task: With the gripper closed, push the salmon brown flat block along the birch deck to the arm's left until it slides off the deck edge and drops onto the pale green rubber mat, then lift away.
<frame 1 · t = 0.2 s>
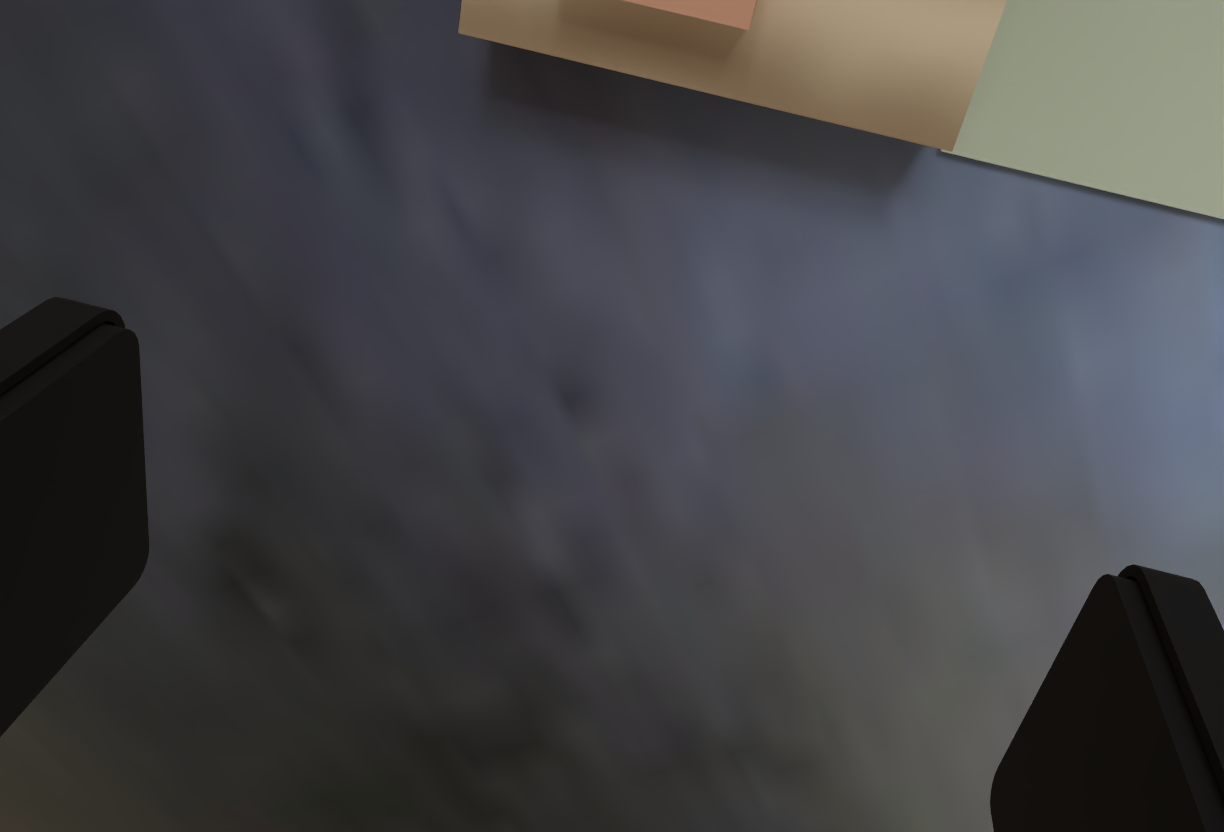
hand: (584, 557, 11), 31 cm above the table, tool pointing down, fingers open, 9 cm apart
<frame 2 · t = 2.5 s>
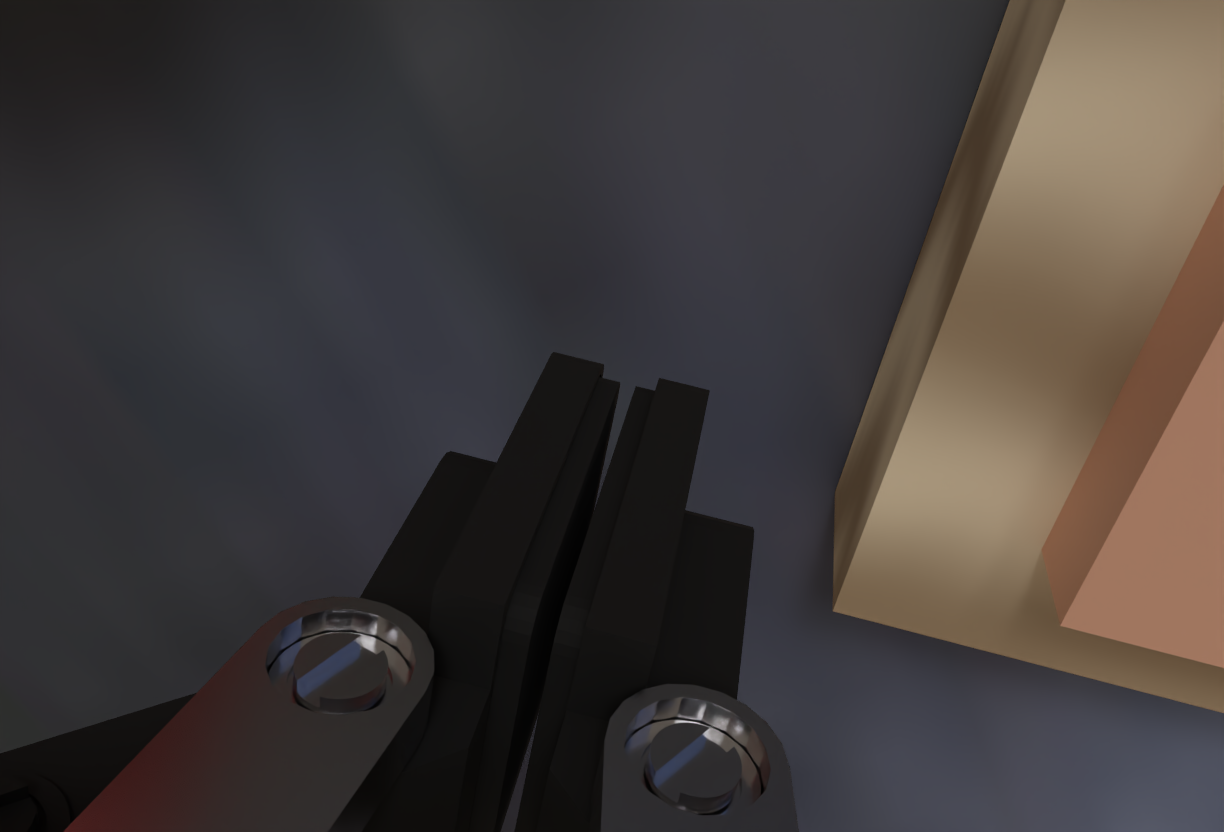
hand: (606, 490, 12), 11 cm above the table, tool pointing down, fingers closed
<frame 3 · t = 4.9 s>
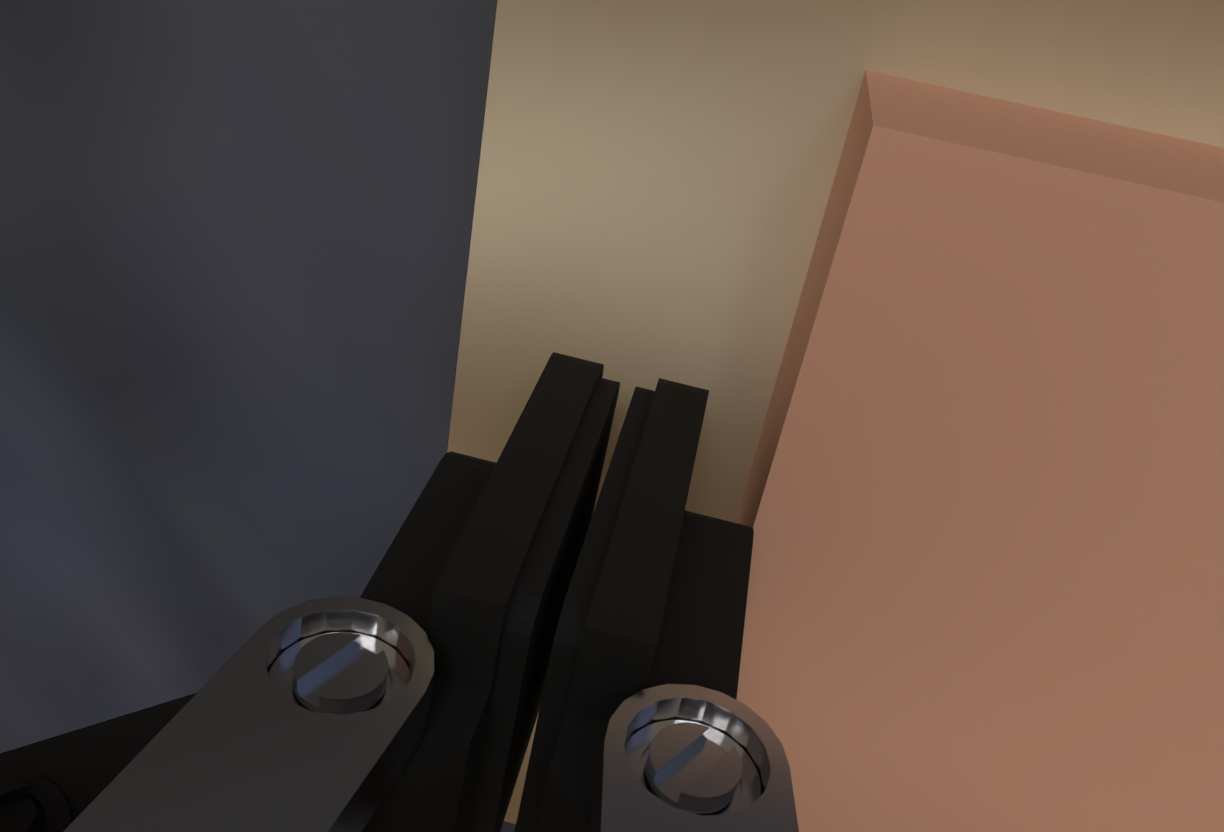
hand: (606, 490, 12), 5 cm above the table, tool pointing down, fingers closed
deck: (1076, 392, 16), on the table
salmon brown flat block: (1012, 529, 12), point 4 cm above the table, touching deck, gripper
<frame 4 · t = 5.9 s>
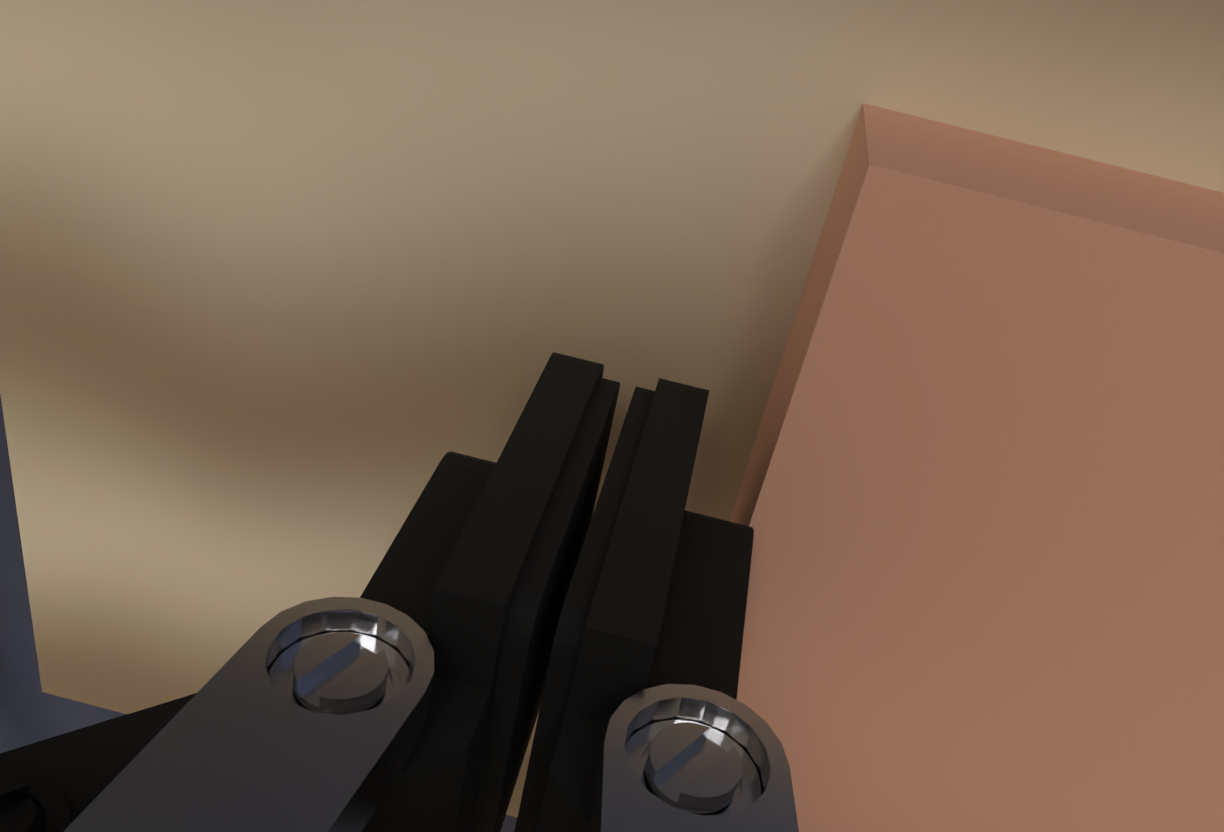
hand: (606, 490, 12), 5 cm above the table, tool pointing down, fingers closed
deck: (676, 294, 16), on the table
salmon brown flat block: (995, 552, 13), point 4 cm above the table, touching deck, gripper
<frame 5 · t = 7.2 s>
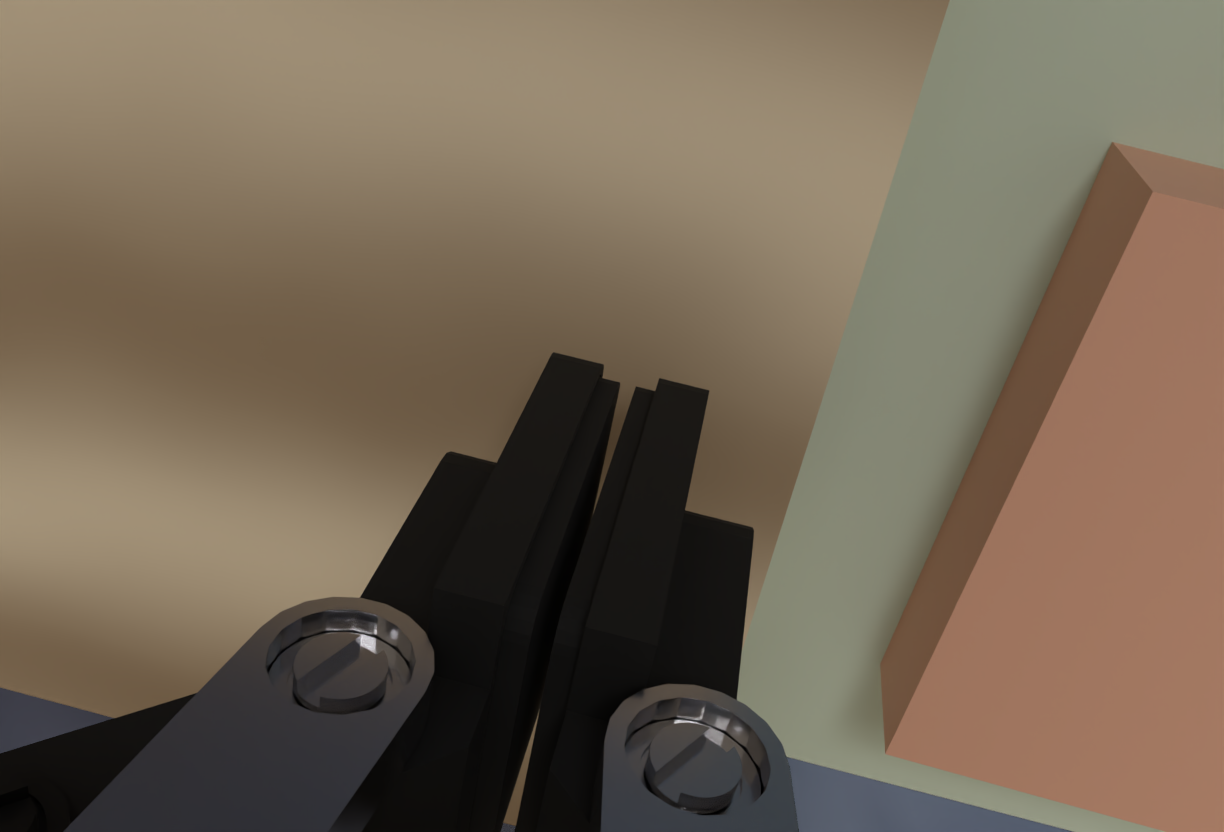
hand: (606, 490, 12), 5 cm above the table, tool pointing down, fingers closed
mat: (1191, 423, 16), on the table
deck: (279, 208, 16), on the table
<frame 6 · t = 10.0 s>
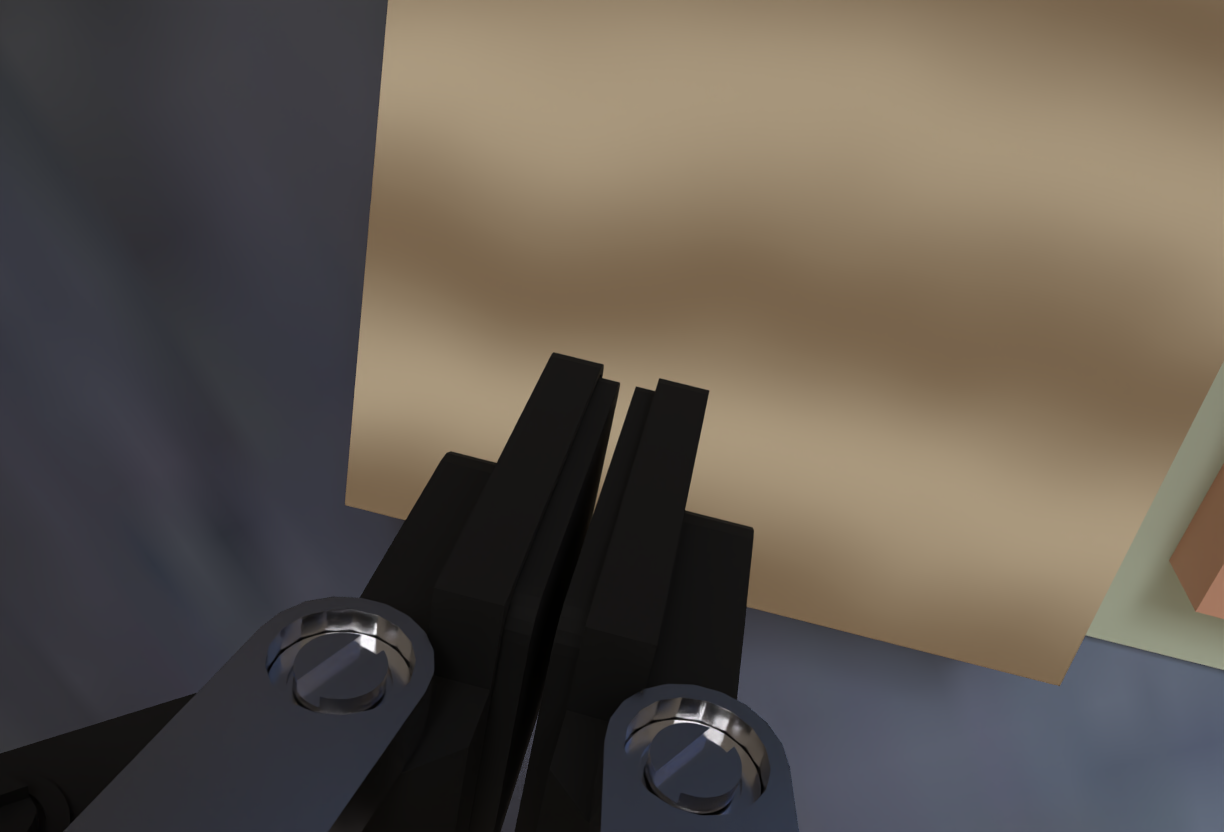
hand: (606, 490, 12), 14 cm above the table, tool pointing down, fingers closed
deck: (782, 236, 24), on the table
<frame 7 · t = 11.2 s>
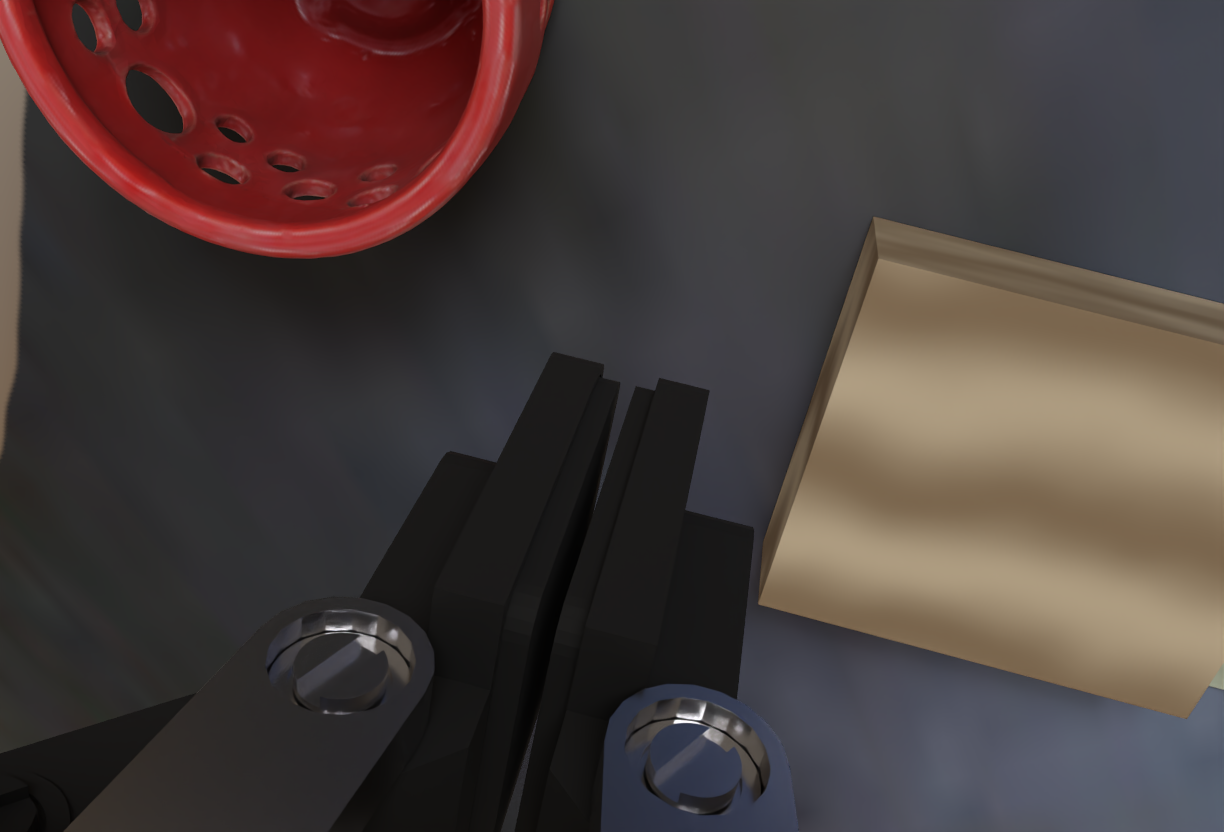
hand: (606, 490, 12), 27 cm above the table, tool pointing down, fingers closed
deck: (1026, 448, 40), on the table
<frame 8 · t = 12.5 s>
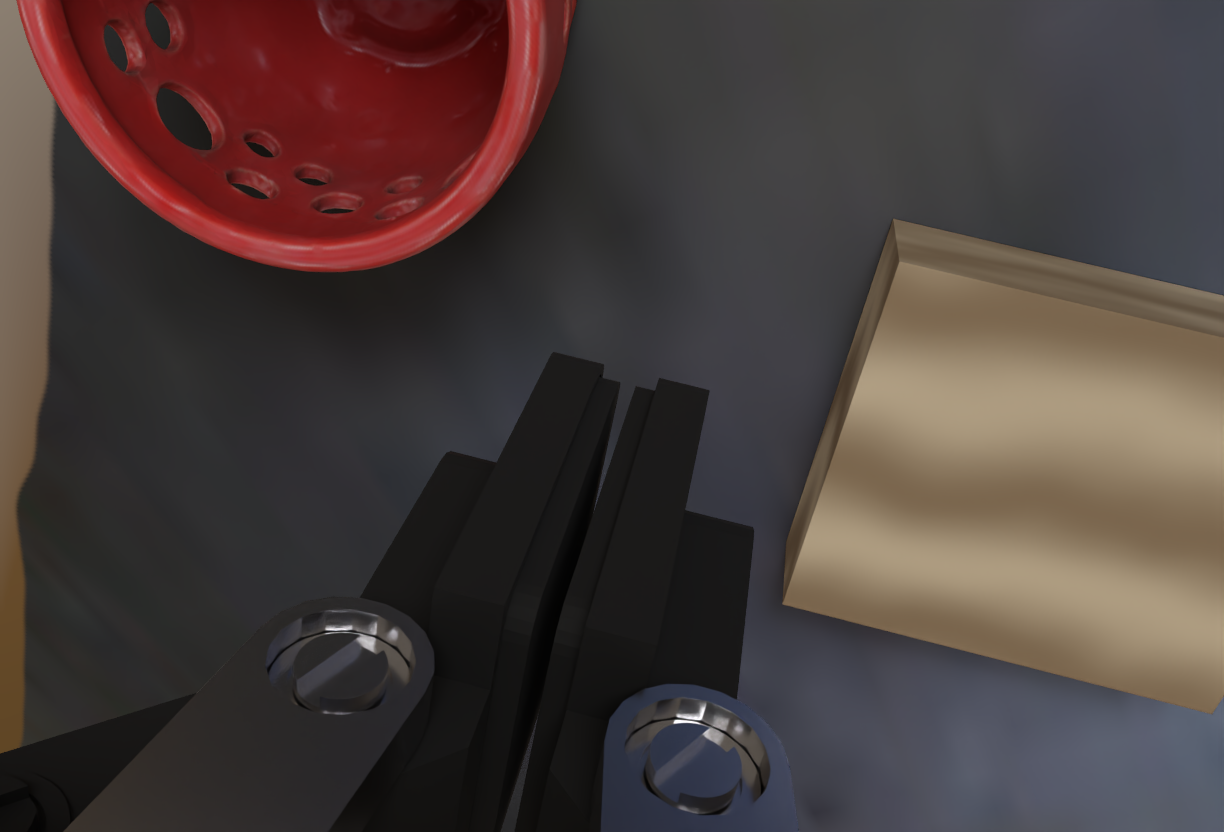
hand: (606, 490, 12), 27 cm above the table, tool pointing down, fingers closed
deck: (1048, 446, 40), on the table
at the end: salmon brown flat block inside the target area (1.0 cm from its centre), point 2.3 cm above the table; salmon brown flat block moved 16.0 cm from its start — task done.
